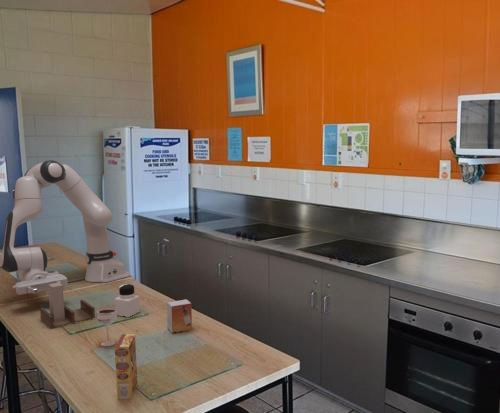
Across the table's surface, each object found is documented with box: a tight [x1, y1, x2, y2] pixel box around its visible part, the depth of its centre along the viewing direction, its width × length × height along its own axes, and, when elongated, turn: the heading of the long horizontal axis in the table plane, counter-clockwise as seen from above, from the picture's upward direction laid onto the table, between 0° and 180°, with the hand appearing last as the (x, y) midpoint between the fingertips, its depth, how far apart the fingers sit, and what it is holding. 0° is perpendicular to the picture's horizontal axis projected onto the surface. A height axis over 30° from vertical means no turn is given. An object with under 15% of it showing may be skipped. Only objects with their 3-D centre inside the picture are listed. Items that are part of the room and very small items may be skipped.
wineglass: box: [96, 306, 118, 347], centre depth 167 cm, size 7×7×12 cm
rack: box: [39, 299, 96, 330], centre depth 190 cm, size 17×13×4 cm
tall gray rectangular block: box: [48, 282, 65, 322], centre depth 187 cm, size 4×5×14 cm
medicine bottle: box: [114, 283, 140, 318], centre depth 195 cm, size 7×7×12 cm
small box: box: [166, 299, 193, 334], centre depth 179 cm, size 8×6×10 cm
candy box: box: [114, 333, 138, 401], centre depth 134 cm, size 9×4×15 cm, turn 3°
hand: (47, 289), depth 196 cm, fingers open, 8 cm apart
